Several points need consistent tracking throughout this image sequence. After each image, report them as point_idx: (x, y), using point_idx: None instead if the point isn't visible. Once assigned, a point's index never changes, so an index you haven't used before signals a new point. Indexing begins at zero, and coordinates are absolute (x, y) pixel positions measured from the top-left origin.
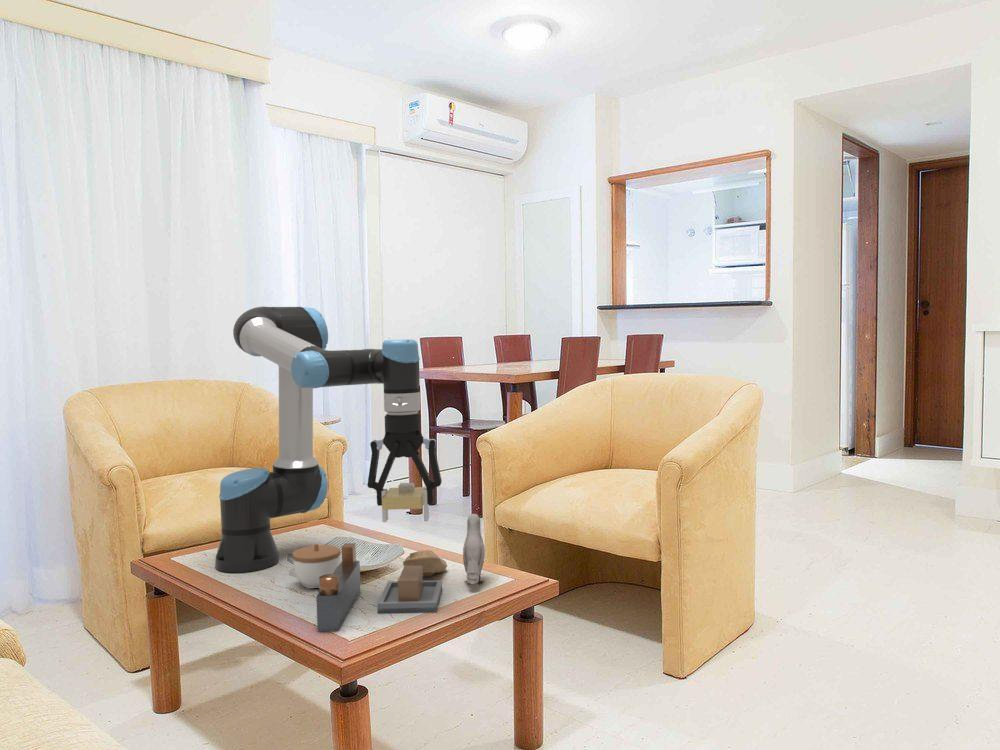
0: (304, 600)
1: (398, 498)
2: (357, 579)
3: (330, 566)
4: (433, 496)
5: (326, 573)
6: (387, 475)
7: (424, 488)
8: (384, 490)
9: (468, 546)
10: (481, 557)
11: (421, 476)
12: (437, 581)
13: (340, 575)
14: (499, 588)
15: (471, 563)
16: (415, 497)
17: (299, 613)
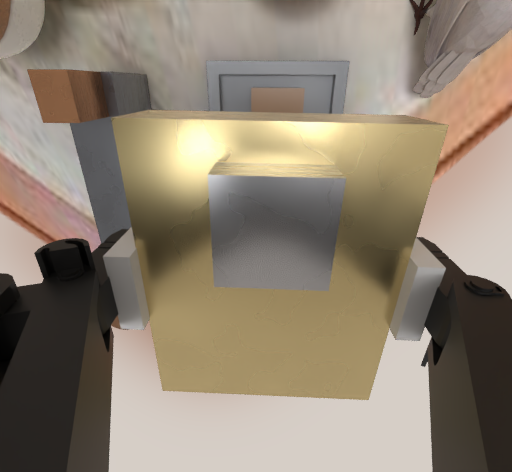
0: (42, 123)
1: (249, 388)
2: (135, 110)
3: (20, 32)
4: (447, 258)
5: (25, 43)
6: (101, 403)
7: (414, 284)
8: (129, 305)
9: (484, 19)
10: (501, 37)
11: (434, 433)
12: (336, 71)
13: (112, 201)
14: (488, 65)
15: (454, 63)
16: (338, 395)
17: (73, 196)
